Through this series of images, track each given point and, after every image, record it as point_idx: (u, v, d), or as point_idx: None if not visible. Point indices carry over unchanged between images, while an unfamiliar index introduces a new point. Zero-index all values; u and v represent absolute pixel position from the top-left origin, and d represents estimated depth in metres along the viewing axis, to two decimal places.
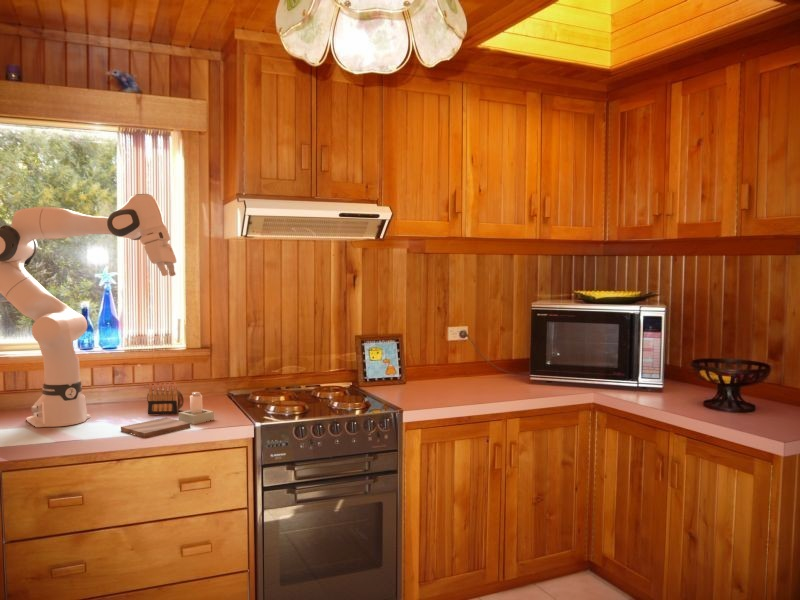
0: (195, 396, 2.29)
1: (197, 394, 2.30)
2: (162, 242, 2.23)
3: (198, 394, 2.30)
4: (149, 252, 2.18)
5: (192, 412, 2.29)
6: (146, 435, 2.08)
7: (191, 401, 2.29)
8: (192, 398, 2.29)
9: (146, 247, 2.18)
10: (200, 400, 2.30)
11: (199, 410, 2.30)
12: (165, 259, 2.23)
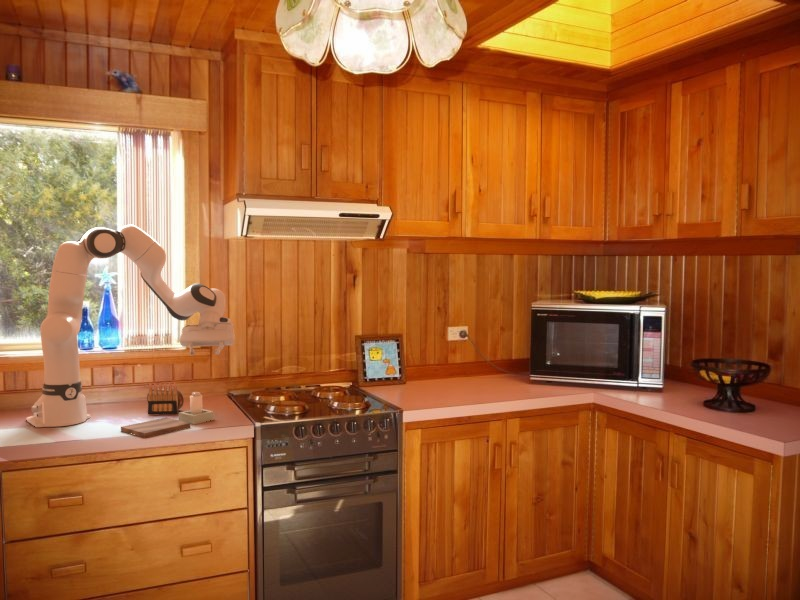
0: (195, 396, 2.29)
1: (197, 394, 2.30)
2: None
3: (198, 394, 2.30)
4: (233, 333, 2.47)
5: (192, 412, 2.29)
6: (146, 435, 2.08)
7: (191, 401, 2.29)
8: (192, 398, 2.29)
9: (232, 328, 2.48)
10: (200, 400, 2.30)
11: (199, 410, 2.30)
12: None
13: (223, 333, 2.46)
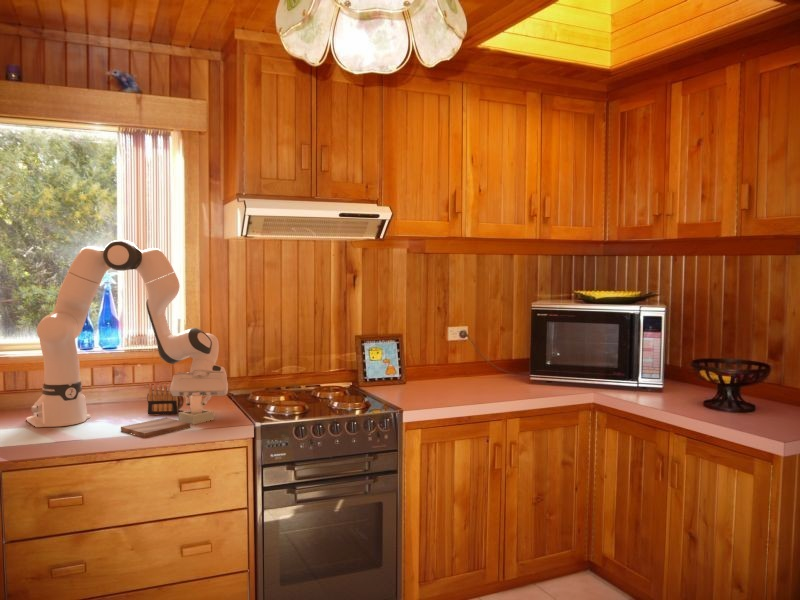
0: (195, 396, 2.29)
1: (197, 394, 2.30)
2: None
3: (198, 394, 2.30)
4: (226, 382, 2.36)
5: (192, 412, 2.29)
6: (146, 435, 2.08)
7: (191, 401, 2.29)
8: (192, 398, 2.29)
9: (225, 377, 2.37)
10: (200, 400, 2.30)
11: (199, 410, 2.30)
12: None
13: (216, 383, 2.35)
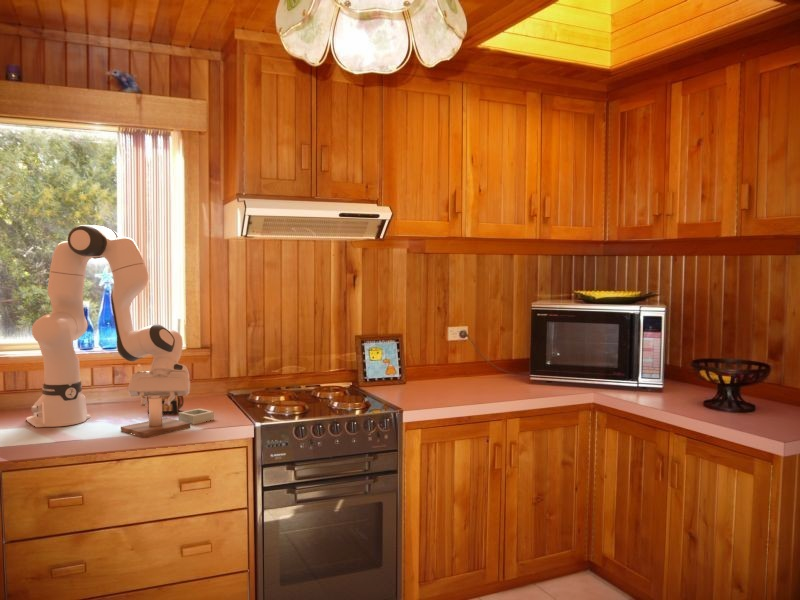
0: (154, 399, 2.16)
1: (156, 397, 2.17)
2: None
3: (157, 397, 2.17)
4: (188, 382, 2.23)
5: (151, 416, 2.16)
6: (146, 435, 2.08)
7: (150, 404, 2.17)
8: (151, 401, 2.16)
9: (187, 376, 2.24)
10: (159, 403, 2.17)
11: (158, 414, 2.17)
12: None
13: (177, 382, 2.22)
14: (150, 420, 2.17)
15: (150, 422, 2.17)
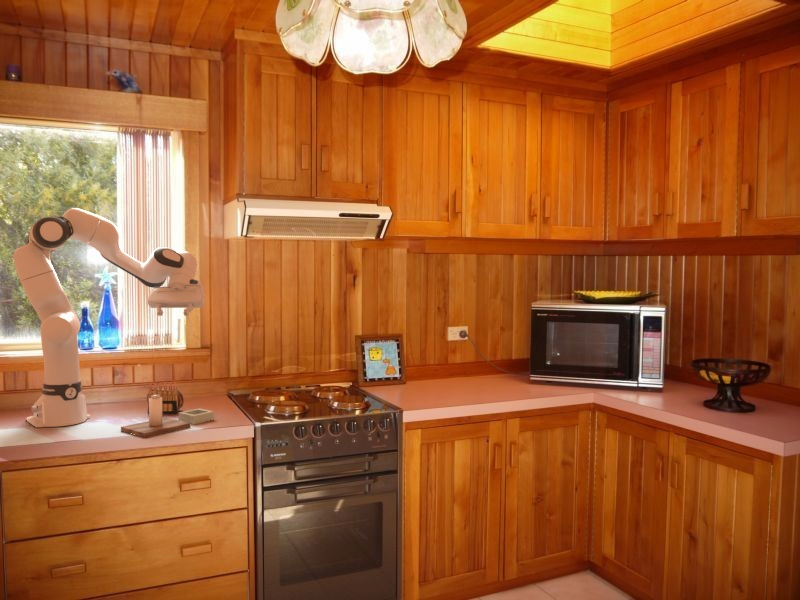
0: (154, 399, 2.17)
1: (157, 397, 2.17)
2: None
3: (158, 397, 2.18)
4: (203, 295, 2.42)
5: (151, 416, 2.16)
6: (146, 435, 2.08)
7: (150, 404, 2.17)
8: (151, 401, 2.16)
9: (202, 290, 2.43)
10: (160, 403, 2.17)
11: (159, 414, 2.17)
12: None
13: (193, 295, 2.41)
14: (150, 420, 2.17)
15: (150, 422, 2.17)
